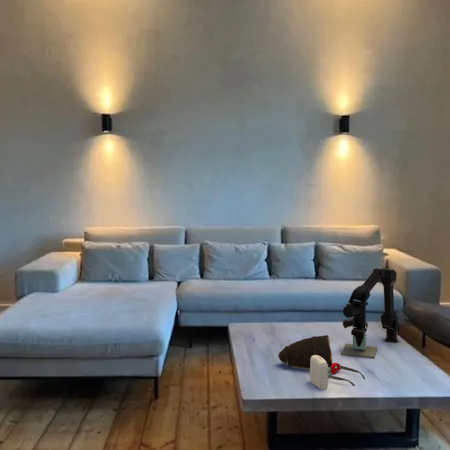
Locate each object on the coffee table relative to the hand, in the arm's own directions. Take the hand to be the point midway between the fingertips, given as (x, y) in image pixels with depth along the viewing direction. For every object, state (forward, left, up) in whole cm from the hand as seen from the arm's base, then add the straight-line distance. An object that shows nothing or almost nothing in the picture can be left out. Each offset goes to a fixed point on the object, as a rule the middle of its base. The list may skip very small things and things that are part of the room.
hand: (359, 344), depth 263 cm
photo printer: (+50, -11, -4) cm, 51 cm away
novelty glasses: (+39, -2, -4) cm, 39 cm away
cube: (0, 0, -1) cm, 1 cm away
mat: (0, 0, -4) cm, 4 cm away
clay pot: (+30, -21, -4) cm, 37 cm away
